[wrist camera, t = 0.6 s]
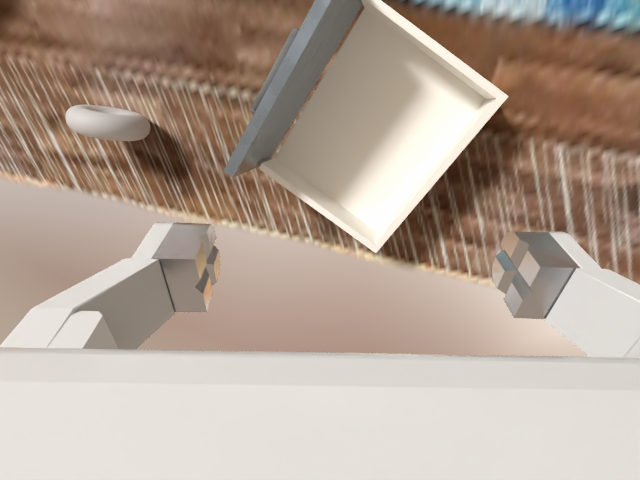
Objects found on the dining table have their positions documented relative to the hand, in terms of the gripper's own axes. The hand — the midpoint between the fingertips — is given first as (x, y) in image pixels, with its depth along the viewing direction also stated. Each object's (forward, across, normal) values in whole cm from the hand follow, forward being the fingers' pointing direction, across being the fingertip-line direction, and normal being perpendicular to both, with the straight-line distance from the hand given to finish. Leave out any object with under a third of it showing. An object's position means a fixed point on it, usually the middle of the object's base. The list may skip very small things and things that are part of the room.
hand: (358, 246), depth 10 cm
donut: (+46, +28, +12) cm, 55 cm away
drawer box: (+38, -7, +10) cm, 40 cm away
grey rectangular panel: (+39, +2, +5) cm, 39 cm away
